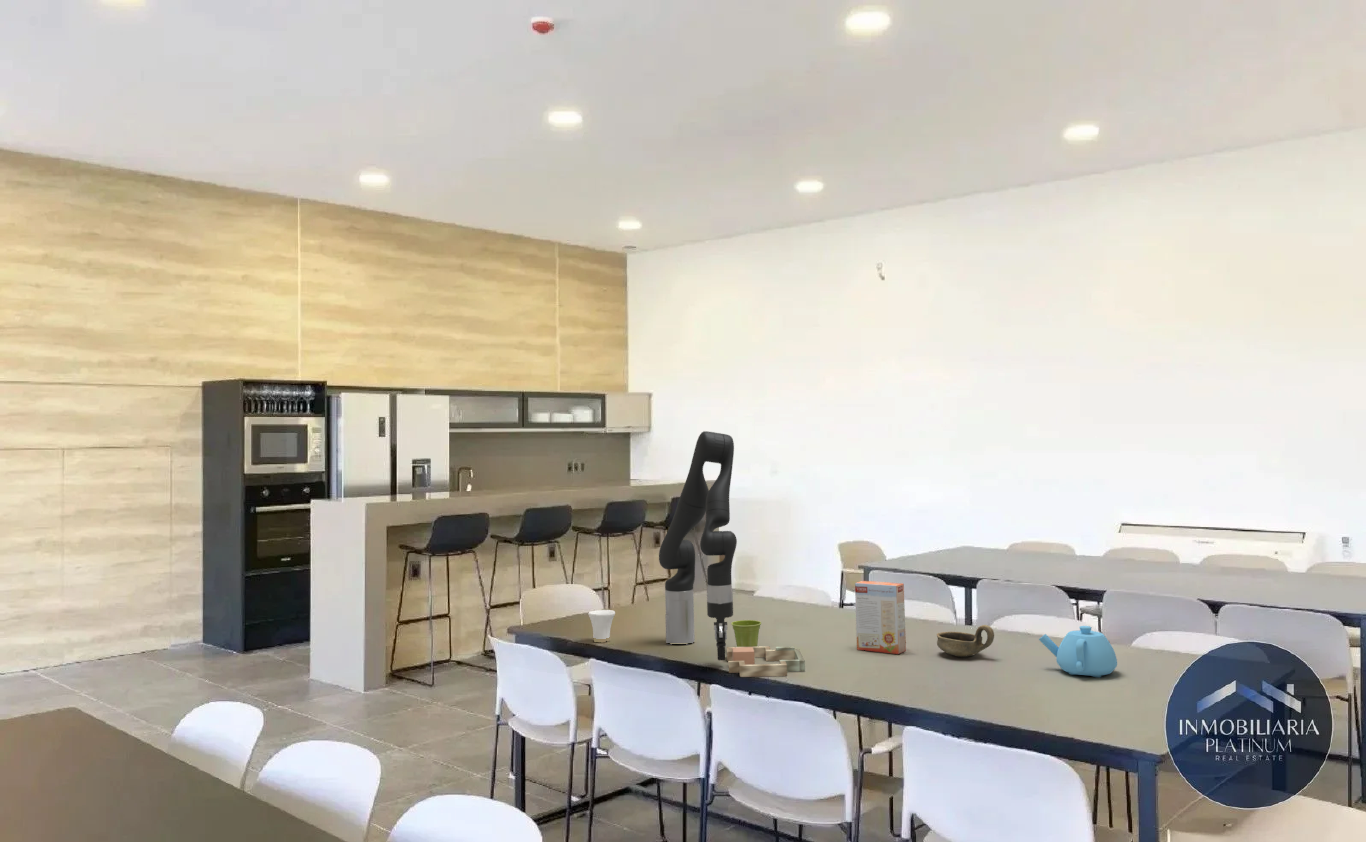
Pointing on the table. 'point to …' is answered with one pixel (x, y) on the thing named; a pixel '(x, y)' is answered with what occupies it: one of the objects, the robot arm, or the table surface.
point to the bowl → (964, 642)
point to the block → (743, 655)
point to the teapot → (1083, 652)
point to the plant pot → (746, 632)
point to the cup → (601, 623)
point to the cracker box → (880, 617)
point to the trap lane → (786, 655)
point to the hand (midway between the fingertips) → (721, 659)
